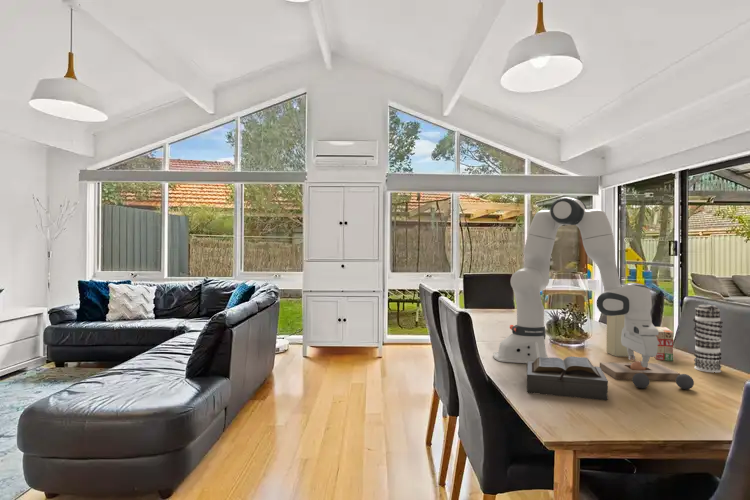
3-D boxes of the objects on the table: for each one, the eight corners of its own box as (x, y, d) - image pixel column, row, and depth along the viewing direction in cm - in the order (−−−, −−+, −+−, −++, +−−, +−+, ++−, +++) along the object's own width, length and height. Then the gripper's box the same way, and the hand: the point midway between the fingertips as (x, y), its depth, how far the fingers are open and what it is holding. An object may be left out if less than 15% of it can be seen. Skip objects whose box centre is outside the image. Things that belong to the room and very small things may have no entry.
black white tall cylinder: (713, 374, 168) (713, 307, 168) (687, 367, 177) (687, 304, 176) (728, 371, 172) (728, 306, 172) (702, 365, 180) (702, 303, 180)
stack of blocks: (646, 349, 210) (646, 322, 210) (662, 350, 207) (662, 323, 207) (656, 359, 190) (656, 330, 190) (673, 361, 188) (673, 331, 187)
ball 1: (636, 390, 149) (636, 375, 149) (629, 385, 154) (629, 371, 154) (652, 390, 149) (652, 375, 149) (644, 385, 154) (644, 371, 154)
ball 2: (681, 391, 148) (681, 376, 148) (672, 386, 153) (672, 371, 153) (697, 391, 148) (697, 376, 148) (688, 386, 153) (688, 372, 153)
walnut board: (615, 379, 162) (615, 372, 162) (599, 368, 176) (599, 362, 176) (679, 380, 160) (679, 373, 160) (658, 369, 174) (658, 363, 174)
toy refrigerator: (632, 356, 195) (632, 308, 195) (615, 356, 195) (615, 308, 195) (622, 352, 203) (622, 306, 203) (606, 352, 203) (606, 306, 203)
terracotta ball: (634, 376, 166) (634, 362, 166) (627, 372, 171) (628, 359, 171) (648, 376, 165) (648, 363, 165) (641, 372, 170) (641, 359, 170)
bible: (607, 406, 135) (607, 374, 135) (515, 392, 149) (515, 362, 149) (611, 386, 155) (611, 357, 155) (530, 375, 169) (530, 348, 169)
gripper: (616, 321, 179) (616, 356, 179) (642, 331, 158) (642, 370, 158) (633, 321, 178) (633, 356, 178) (661, 331, 158) (661, 370, 158)
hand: (637, 363), depth 168 cm, fingers open, 8 cm apart
